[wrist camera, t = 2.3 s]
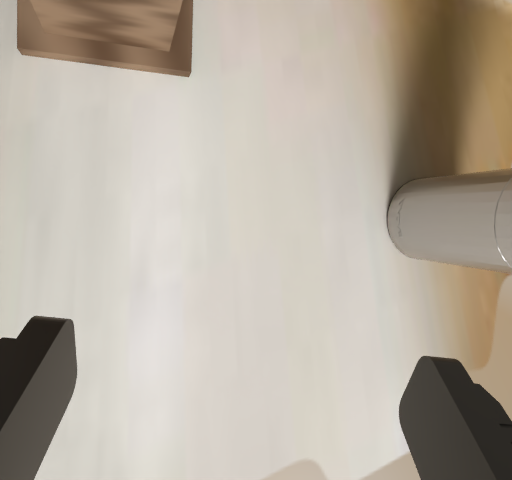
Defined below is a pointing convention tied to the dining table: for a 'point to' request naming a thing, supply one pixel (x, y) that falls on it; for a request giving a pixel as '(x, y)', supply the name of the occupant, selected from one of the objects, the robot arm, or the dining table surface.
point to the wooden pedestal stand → (109, 33)
